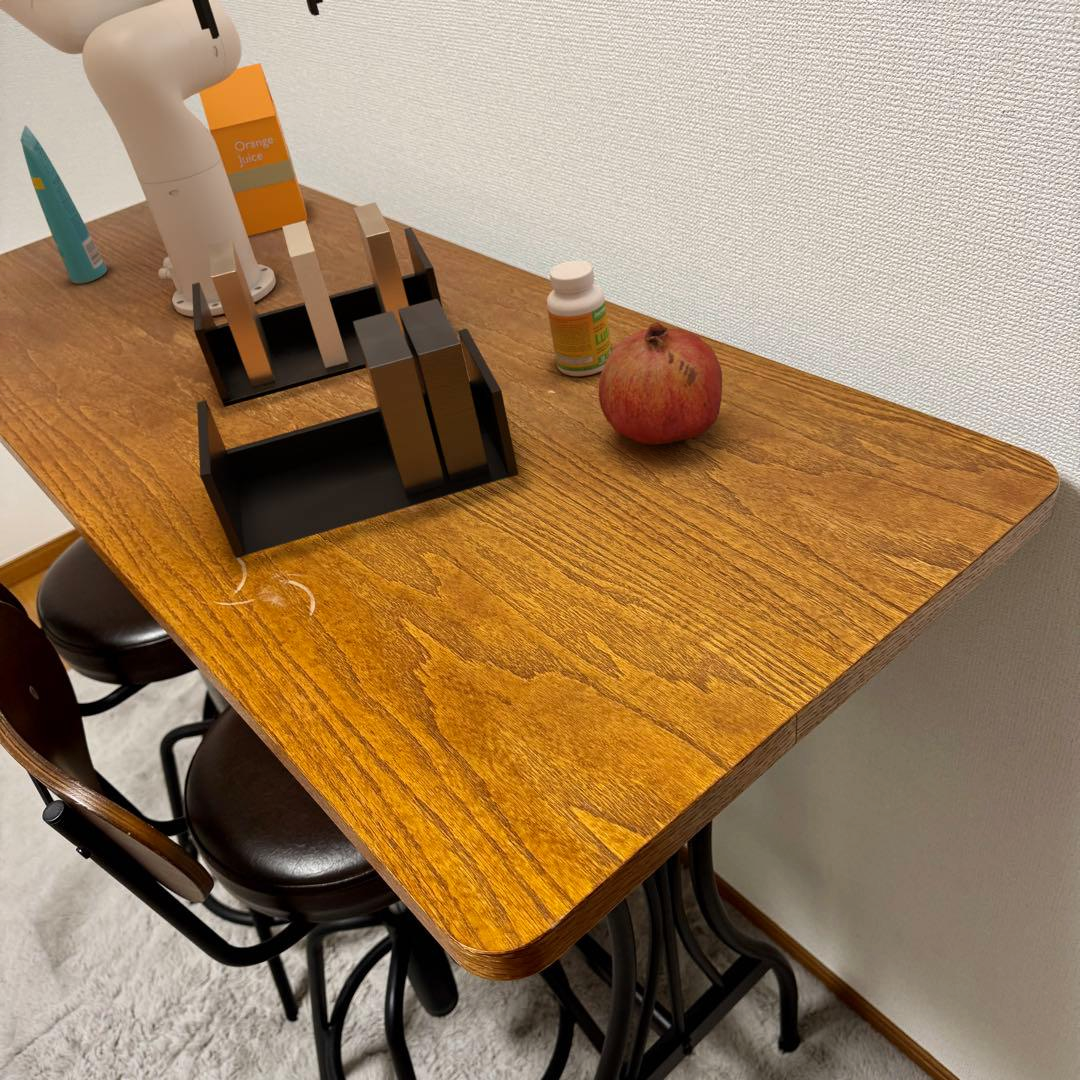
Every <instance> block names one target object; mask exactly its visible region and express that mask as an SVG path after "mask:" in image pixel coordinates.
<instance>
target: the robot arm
mask: <svg viewBox="0 0 1080 1080" xmlns="http://www.w3.org/2000/svg"><path fill="white" fill-rule="evenodd" d="M305 1H306V4H307V8H308V11H309V13H310V14H311V16H314V17H317V16H320V10H319V7H318V4H323V3H324V0H305ZM0 10H1V11H3V12H4V13H5V14H7V15H8V16H10V17H11V18H12V19H14V21H17V23H19V24H20V25H22V26H23V27H24V28H26V29H27V30H29V32H31V33H32V34H34V35H35V36H37V37H38V38H39V39H41V40H42V41H44V42H45V44H47V45H49V46H51V48H54V49H56V50H57V51H60V52H62V53H65V54H69V55H82V57H81V58H82V66H83V70H84V74H85V76H86V78H87V80H88V82H89V85H90V87H91V88H92V90H93V92H94V93H95V95H96V97H97V98H98V100H99V101H100V103H101V105H102V107H103V108H104V110H105V111H106V113H107V115H108V116H109V118H110V121H111V122H112V124H113V126H114V127H115V130H116V131H117V133H118V135H119V138H120V139H121V140H120V141H121V142H122V144H123V146H124V149H125V150H126V153H127V156H128V158H129V160H130V162H131V163H130V164H131V165H132V168H133V170H134V172H135V175H136V178H137V180H138V182H139V185H140V187H141V189H142V192H143V195H144V198H145V201H146V203H147V205H148V209H149V210H150V213H151V215H152V218H153V221H154V223H155V226H156V228H157V231H158V233H159V236H160V238H161V241H162V243H163V246H164V248H165V251H166V253H167V256H166V257H165V258H164V259H163V261H162V266H163V267H161V268H159V270H158V272H157V274H158V277H159V279H161V280H164V281H173V284H174V287H175V291H174V293H173V295H172V298H171V302H172V305H173V307H174V309H175V310H176V312H177V313H179V314H180V315H182V316H187V317H192V318H193V298H192V284H195V283H198V282H199V283H200V285H201V288H202V291H203V293H204V296H205V298H206V301H207V304H208V306H209V309H210V312H211V314H212V317H214V316H220V315H225V313H224V311H223V308H222V305H221V303H220V300H219V297H218V295H217V292H216V289H215V286H214V284H213V281H212V278H211V269H210V257H209V245H210V244H214V243H218V242H222V241H226V240H230V239H232V241H233V244H234V247H235V250H236V252H237V255H238V258H239V261H240V264H241V267H242V269H243V272H244V275H245V278H246V281H247V284H248V287H249V289H250V292H251V295H252V298H253V301H254V304H255V303H257V302H258V301H260V300H262V299H263V298H265V297H266V296H267V295H268V294H269V293H270V292H272V290H273V289H274V287H275V286H276V283H277V279H276V275H275V273H274V270H273V269H272V268H271V267H269V266H268V265H267V266H266V265H265V264H261V263H260V264H259V263H257V259H256V257H255V254H254V251H253V248H252V245H251V242H250V239H249V236H247V233H246V230H245V227H244V224H243V221H242V218H241V215H240V212H239V209H238V207H237V204H236V201H235V198H234V195H233V192H232V189H231V186H230V183H229V180H228V177H227V174H226V171H225V168H224V165H223V162H222V160H221V156H220V154H219V151H218V148H217V145H216V143H215V140H214V138H213V136H212V135H211V133H210V130H209V128H207V126H206V125H205V124H204V123H203V122H202V121H201V120H200V119H199V118H198V117H196V116H195V114H194V113H192V111H191V110H189V109H188V108H187V106H186V105H185V103H184V101H185V100H187V99H189V98H190V97H192V96H194V95H196V94H199V92H201V91H203V90H206V89H208V88H210V87H212V86H214V85H216V84H218V83H220V82H222V81H224V80H225V79H227V78H228V77H229V76H231V75H232V74H233V73H234V71H235V70H236V69H237V68H239V65H240V62H241V59H242V43H241V38H240V35H239V32H238V30H237V27H236V26H235V24H234V22H233V20H232V18H231V17H230V16H229V14H228V12H226V11H225V9H224V8H223V7H222V6H221V5H220V4H219V3H218V2H217V1H216V0H0Z"/></svg>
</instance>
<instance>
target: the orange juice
mask: <svg viewBox="0 0 1080 1080" xmlns="http://www.w3.org/2000/svg"><path fill="white" fill-rule="evenodd" d="M198 94H199V97H200V102H201V105H202V108H203V111H204V115H205V118H206V122H207V125H208V126H207V127H208V130H209V132H210V133H211V135H212V136H213V138H214V140H215V143H216V145H217V148H218V151H219V154H220V156H221V160H222V162H223V165H224V168H225V171H226V174H227V177H228V180H229V183H230V186H231V189H232V192H233V195H234V198H235V201H236V204H237V207H238V209H239V212H240V215H241V218H242V221H243V224H244V227H245V230H246V233H247V236H248V237H249V236H254V235H258V234H263V233H267V232H271V231H276V230H278V229H283V228H282V227H283V226H287V225H290V224H294V223H298V222H302V221H306V223H307V222H308V221H309V219H308V215H307V209H306V204H305V200H304V198H303V194H302V192H301V188H300V184H299V180H298V177H297V174H296V171H295V167H294V163H293V160H292V155H291V152H290V149H289V147H288V144H287V141H286V138H285V137H286V136H285V135H284V131H283V126H282V123H281V121H280V118H279V114H278V111H277V107H276V104H275V101H274V99H273V96H272V93H271V91H270V87H269V84H268V81H267V79H266V76H265V73H264V69H263V66H262V64H261V62H259V63H254V64H250V65H246V66H241V67H237V68H236V70H235V71H234V73H233V74H232V75H231V76H229V77H228V78H227V79H225V80H224V81H222V82H220V83H218V84H216V85H214V86H212V87H210V88H208V89H206V90H203V91H201V92H199V93H198Z"/></svg>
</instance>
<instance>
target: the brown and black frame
mask: <svg viewBox="0 0 1080 1080" xmlns="http://www.w3.org/2000/svg"><path fill="white" fill-rule="evenodd" d="M353 212H354V216H355V219H356V224H357V227H358V232H359V234H360V238H361V242H362V247H363V249H364V253H365V258H366V260H367V265H368V268H369V271H370V276H371V278H372V284H367V285H364V286H360V287H357V288H352V289H349V290H345V291H342V292H337V293H333V294H330V295H328V296H329V299H330V303H331V306H332V309H333V313H334V316H335V319H336V323H337V326H338V329H339V333H340V336H341V339H342V343H343V346H344V349H345V352H346V356H347V359H348V362H346V363H342V364H339V365H335V366H331V367H328V368H325V365H324V362H323V359H322V356H321V353H320V350H319V346H318V343H317V340H316V337H315V334H314V331H313V328H312V325H311V321H310V318H309V315H308V312H307V309H306V306H305V303H304V302H300V303H297V304H293V305H290V306H285V307H281V308H278V309H277V308H276V309H273V310H271V311H267V312H266V311H265V312H262V313H258V309H257V306H256V304H255V303H254V301H253V298H252V295H251V292H250V289H249V287H248V284H247V281H246V278H245V275H244V272H243V269H242V267H241V264H240V261H239V258H238V255H237V252H236V250H235V247H234V244H233V241H232V239H230V240H226V241H222V242H218V243H214V244H210V245H209V257H210V269H211V278H212V281H213V284H214V286H215V289H216V292H217V295H218V297H219V300H220V303H221V305H222V308H223V311H224V313H225V314H224V316H225V319H226V321H227V322H225V323H222V324H218V325H216V321H215V320H214V316H212V314H211V312H210V309H209V306H208V304H207V301H206V298H205V296H204V293H203V291H202V288H201V285H200V283H199V282H198V283H195V284H192V298H193V317H192V319H193V320H192V321H193V332H194V335H195V338H196V340H197V342H198V345H199V347H200V350H201V352H202V355H203V358H204V360H205V362H206V365H207V367H208V371H209V373H210V375H211V377H212V380H213V383H214V385H215V388H216V390H217V394H218V395H219V398H220V401H221V403H222V406H223V407H224V408H227V407H229V406H233V405H238V404H241V403H245V402H248V401H251V400H256V399H259V398H263V397H266V396H270V395H273V394H277V393H280V392H285V391H288V390H292V389H296V388H299V387H302V386H303V387H304V386H307V385H310V384H314V383H317V382H321V381H325V380H328V379H331V378H335V377H339V376H342V375H343V376H344V375H346V374H350V373H353V372H357V371H360V370H363V369H367V368H366V365H365V362H364V358H363V355H362V351H361V348H360V344H359V341H358V337H357V334H356V331H355V327H354V324H353V321H356V320H360V319H364V318H368V317H371V316H375V315H379V314H382V313H386V312H390V311H393V312H394V314H395V317H396V319H397V321H398V324H399V326H400V328H401V331H402V333H403V335H404V332H403V328H402V324H401V320H400V316H399V312H398V309H401V308H405V307H408V306H412V305H416V304H420V303H423V302H427V301H431V300H434V299H438V301H439V303H440V305H441V307H442V309H443V310H444V308H443V303H442V299H441V295H440V290H439V286H438V282H437V278H436V277H437V276H436V272H435V269H434V266H433V264H432V262H431V260H430V259H429V257H428V255H427V253H426V251H425V250H424V248H423V246H422V244H421V243H420V241H419V239H418V237H417V234H415V231H414V229H413V228H412V227H407V228H404V230H403V231H404V235H405V239H406V243H407V247H408V252H409V257H410V259H411V263H412V267H413V273H410V274H405V275H402V272H401V268H400V264H399V261H398V257H397V253H396V248H395V244H394V241H393V237H392V232H391V230H390V228H389V226H388V224H387V222H386V220H385V218H384V216H383V214H382V212H381V210H380V208H379V206H378V204H377V202H372V203H366V204H364V205H359V206H356V207H353ZM404 338H405V335H404ZM405 340H406V339H405Z"/></svg>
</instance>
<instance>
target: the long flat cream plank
mask: <svg viewBox="0 0 1080 1080" xmlns="http://www.w3.org/2000/svg"><path fill="white" fill-rule="evenodd" d="M281 229H282V231H283V235H284V240H285V243H286V247H287V250H288V254H289V258H290V261H291V264H292V268H293V271H294V274H295V277H296V280H297V284H298V287H299V290H300V293H301V296H302V299H303V303H305V306H306V309H307V312H308V315H309V318H310V321H311V325H312V328H313V331H314V334H315V337H316V340H317V343H318V346H319V350H320V353H321V356H322V359H323V362H324V365H325V368H328V367H331V366H335V365H339V364H342V363H346V362H348V359H347V356H346V352H345V349H344V346H343V343H342V339H341V336H340V333H339V329H338V326H337V323H336V319H335V316H334V313H333V309H332V306H331V303H330V299H329V296H330V295H329V294H328V290H327V286H326V283H325V279H324V277H323V274H322V270H321V267H320V264H319V261H318V256H317V253H316V250H315V247H314V243H313V241H312V238H311V235H310V231H309V228H308V225H307V222H306V221H302V222H298V223H294V224H290V225H287V226H283V227H282V228H281Z"/></svg>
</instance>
